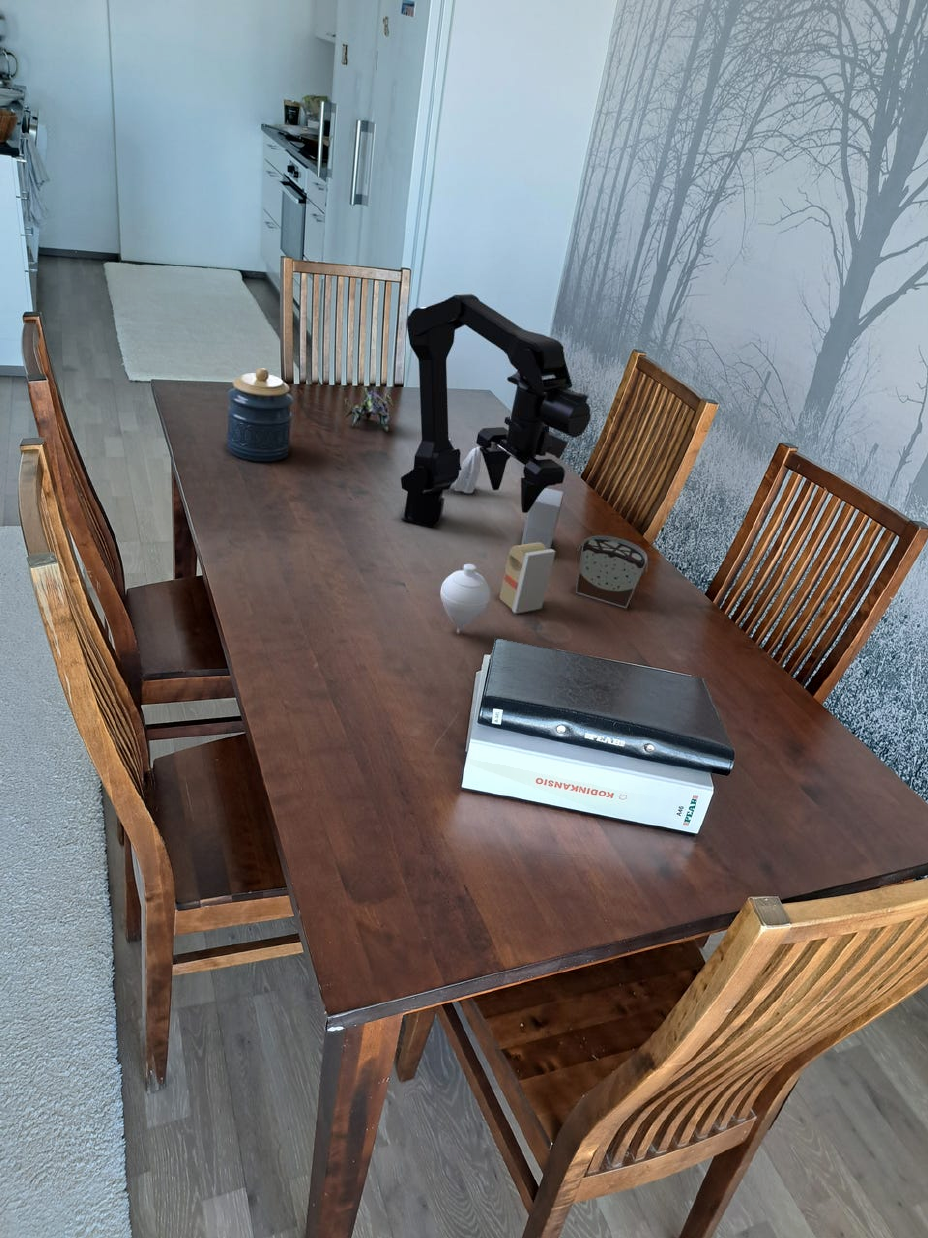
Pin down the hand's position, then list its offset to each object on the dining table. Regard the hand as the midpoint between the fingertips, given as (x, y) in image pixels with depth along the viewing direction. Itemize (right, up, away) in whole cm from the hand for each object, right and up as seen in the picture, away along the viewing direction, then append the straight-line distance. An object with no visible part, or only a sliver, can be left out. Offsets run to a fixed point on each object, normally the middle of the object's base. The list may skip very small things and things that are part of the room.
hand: (509, 500), depth 159 cm
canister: (-52, +15, +32) cm, 63 cm away
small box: (+6, -7, +15) cm, 18 cm away
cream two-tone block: (+1, -18, -5) cm, 19 cm away
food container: (+17, -16, +3) cm, 24 cm away
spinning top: (-9, -23, -17) cm, 30 cm away
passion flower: (-31, +24, +55) cm, 68 cm away
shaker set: (-11, +6, +32) cm, 34 cm away
